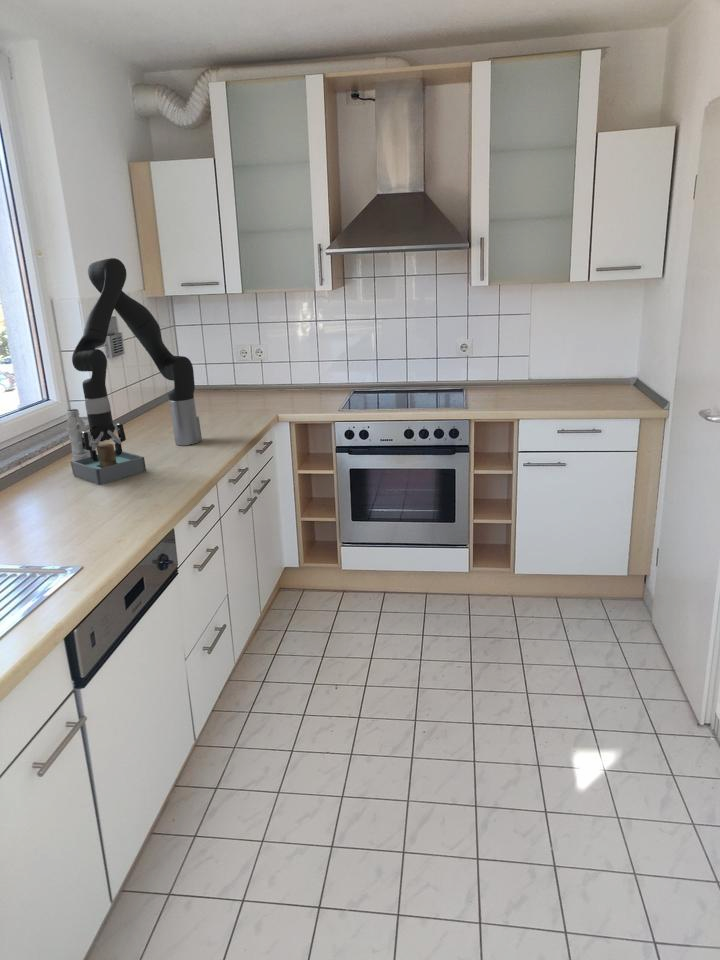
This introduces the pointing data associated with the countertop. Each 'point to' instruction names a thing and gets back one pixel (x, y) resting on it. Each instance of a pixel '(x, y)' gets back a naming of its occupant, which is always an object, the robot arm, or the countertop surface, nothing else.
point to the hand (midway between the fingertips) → (107, 457)
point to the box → (108, 468)
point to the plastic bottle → (76, 434)
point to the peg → (106, 455)
